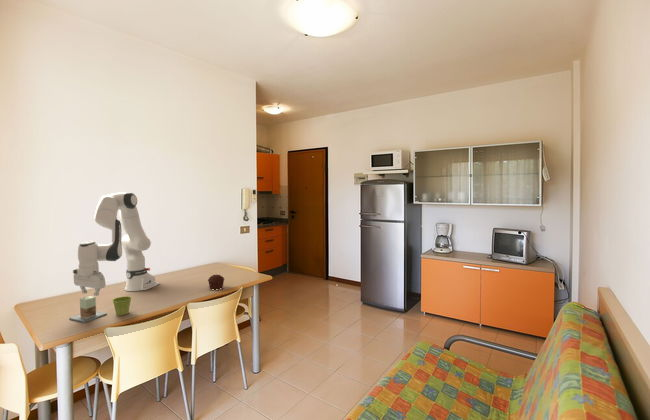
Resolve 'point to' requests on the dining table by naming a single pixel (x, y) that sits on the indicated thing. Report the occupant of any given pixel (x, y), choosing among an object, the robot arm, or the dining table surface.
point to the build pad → (84, 319)
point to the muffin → (216, 282)
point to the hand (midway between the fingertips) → (90, 294)
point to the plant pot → (122, 305)
